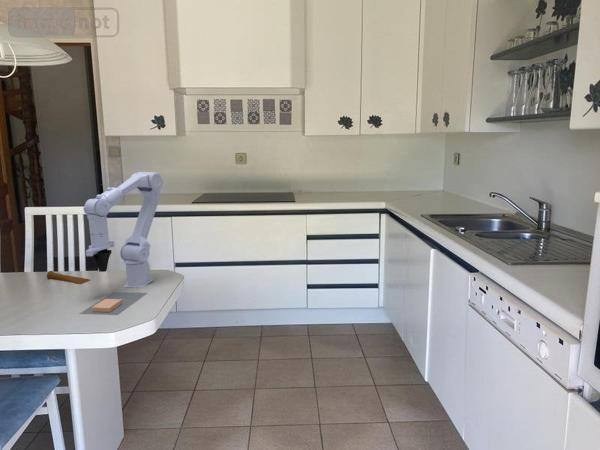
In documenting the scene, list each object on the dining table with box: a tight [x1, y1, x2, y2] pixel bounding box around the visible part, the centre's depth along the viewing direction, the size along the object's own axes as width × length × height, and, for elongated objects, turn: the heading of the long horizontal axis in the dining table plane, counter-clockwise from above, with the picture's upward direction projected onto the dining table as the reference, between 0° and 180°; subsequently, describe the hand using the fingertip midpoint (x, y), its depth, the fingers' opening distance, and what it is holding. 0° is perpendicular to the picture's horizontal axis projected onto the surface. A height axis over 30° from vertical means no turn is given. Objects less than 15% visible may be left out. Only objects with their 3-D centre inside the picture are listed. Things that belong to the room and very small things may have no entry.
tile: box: [92, 298, 122, 312], centre depth 148 cm, size 2×6×8 cm
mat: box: [79, 291, 148, 316], centre depth 153 cm, size 21×13×1 cm, turn 173°
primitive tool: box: [46, 270, 91, 285], centre depth 180 cm, size 19×6×4 cm, turn 73°
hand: (102, 271), depth 159 cm, fingers closed
